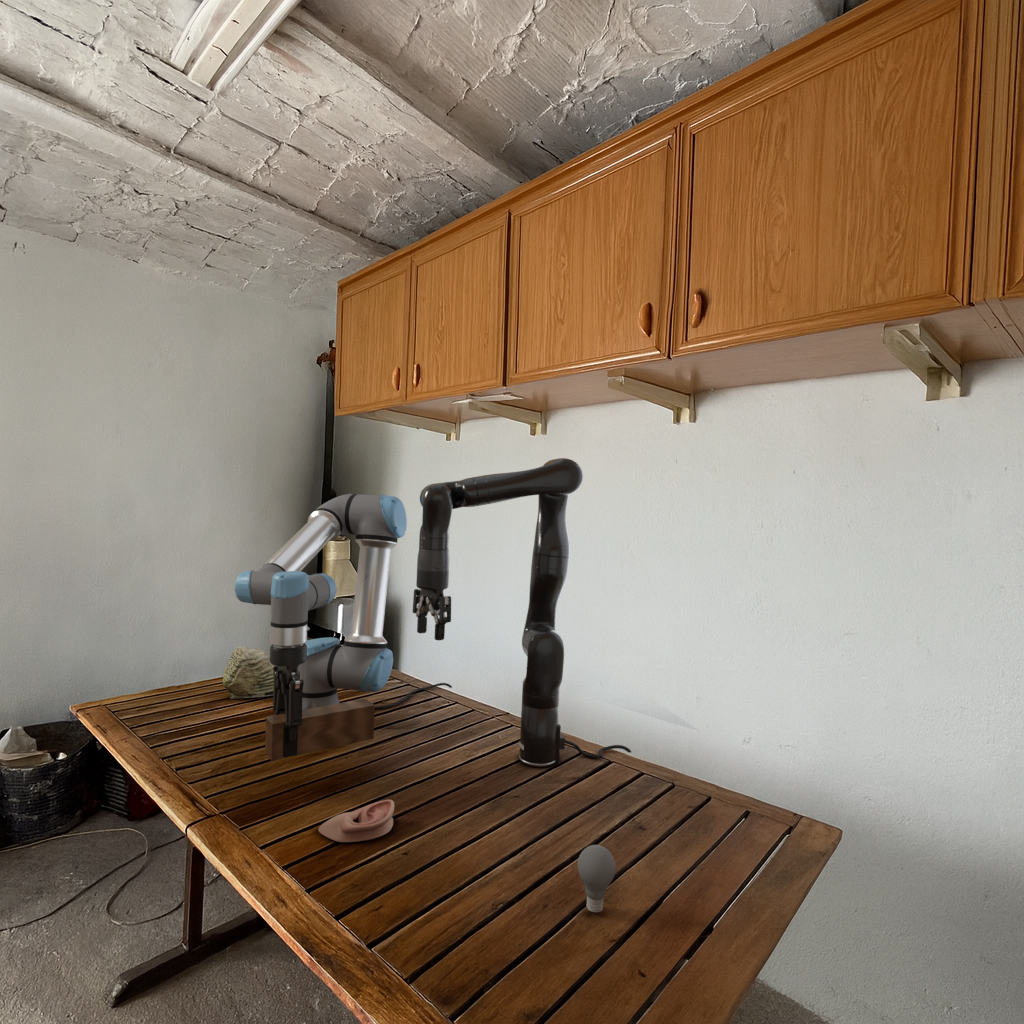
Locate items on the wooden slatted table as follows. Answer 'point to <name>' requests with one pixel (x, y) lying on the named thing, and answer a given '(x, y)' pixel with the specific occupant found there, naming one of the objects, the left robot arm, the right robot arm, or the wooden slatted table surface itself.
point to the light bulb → (596, 874)
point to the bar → (323, 728)
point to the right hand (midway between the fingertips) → (430, 636)
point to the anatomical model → (360, 823)
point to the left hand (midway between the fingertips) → (286, 750)
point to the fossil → (249, 674)
